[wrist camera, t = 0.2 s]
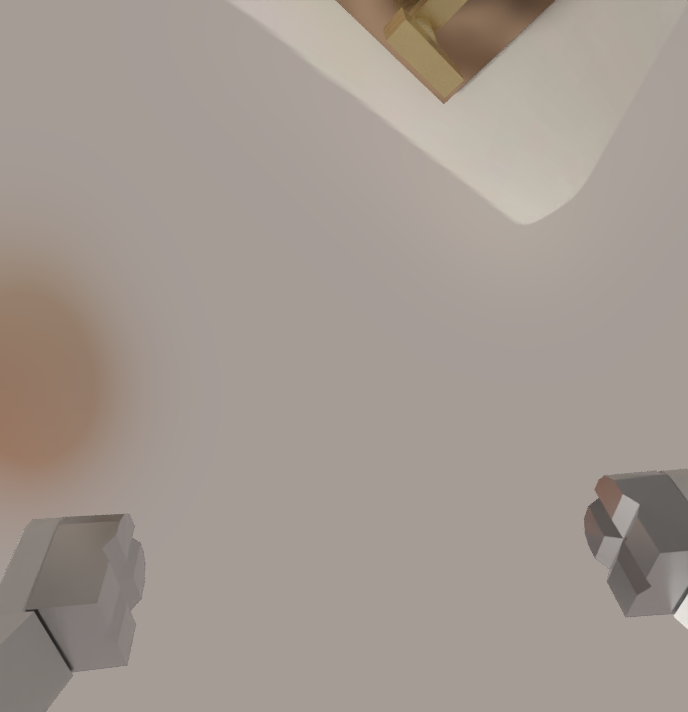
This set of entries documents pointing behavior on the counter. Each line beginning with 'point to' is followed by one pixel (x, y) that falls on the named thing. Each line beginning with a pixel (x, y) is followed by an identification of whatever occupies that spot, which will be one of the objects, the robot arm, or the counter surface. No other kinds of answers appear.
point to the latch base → (457, 31)
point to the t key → (425, 40)
